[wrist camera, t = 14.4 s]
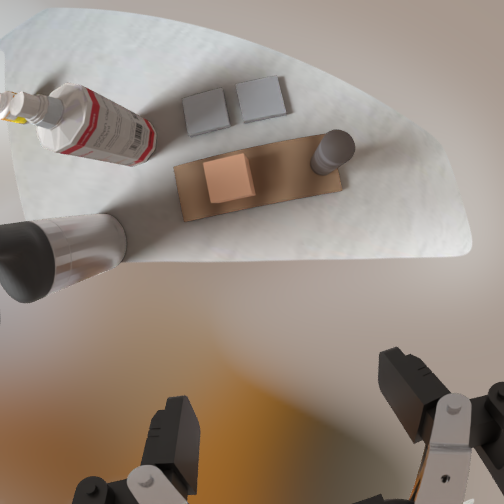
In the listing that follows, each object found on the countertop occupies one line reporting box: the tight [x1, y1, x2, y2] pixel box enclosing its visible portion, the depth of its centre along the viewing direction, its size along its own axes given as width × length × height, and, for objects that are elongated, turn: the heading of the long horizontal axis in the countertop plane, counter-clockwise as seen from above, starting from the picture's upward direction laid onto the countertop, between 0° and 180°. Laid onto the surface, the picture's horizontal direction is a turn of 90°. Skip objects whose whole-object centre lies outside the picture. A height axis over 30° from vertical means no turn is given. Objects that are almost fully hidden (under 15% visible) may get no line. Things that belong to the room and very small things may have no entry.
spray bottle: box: [9, 83, 157, 167], centre depth 30 cm, size 8×8×25 cm
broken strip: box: [182, 75, 286, 137], centre depth 40 cm, size 14×6×1 cm, turn 101°
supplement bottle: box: [0, 91, 29, 124], centre depth 39 cm, size 6×6×10 cm
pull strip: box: [173, 130, 355, 222], centre depth 34 cm, size 22×8×14 cm, turn 101°
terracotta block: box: [203, 153, 256, 203], centre depth 38 cm, size 5×5×5 cm
